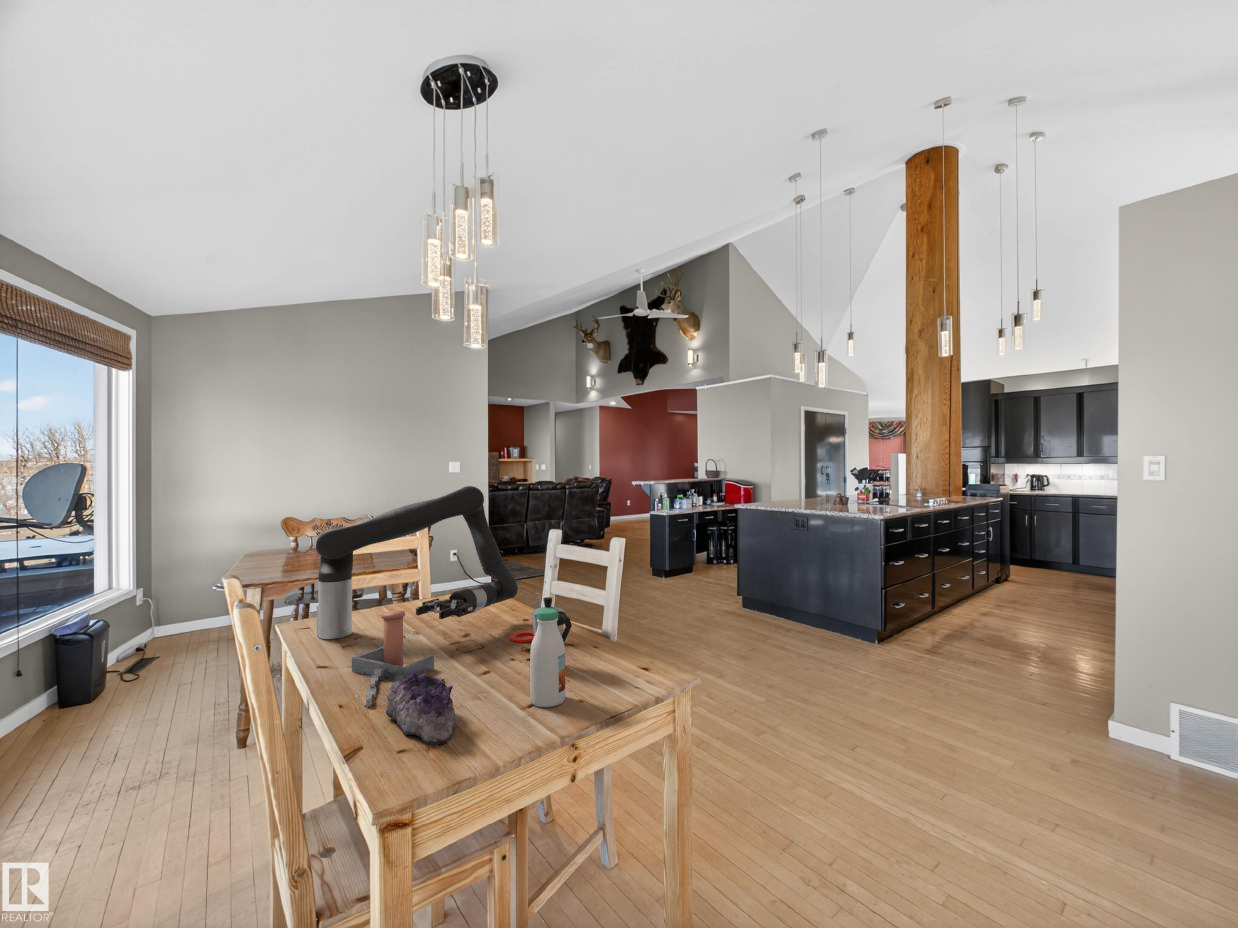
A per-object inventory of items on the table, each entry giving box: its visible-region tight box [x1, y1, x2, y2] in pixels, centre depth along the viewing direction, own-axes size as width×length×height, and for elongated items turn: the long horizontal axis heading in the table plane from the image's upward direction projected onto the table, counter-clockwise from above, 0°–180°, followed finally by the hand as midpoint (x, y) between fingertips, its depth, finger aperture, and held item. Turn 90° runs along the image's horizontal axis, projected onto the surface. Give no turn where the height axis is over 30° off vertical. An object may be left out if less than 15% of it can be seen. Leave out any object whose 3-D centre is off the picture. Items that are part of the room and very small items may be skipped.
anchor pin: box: [380, 609, 406, 666], centre depth 140 cm, size 6×6×15 cm
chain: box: [365, 675, 380, 708], centre depth 127 cm, size 2×17×2 cm, turn 20°
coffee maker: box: [530, 596, 573, 643], centre depth 141 cm, size 15×9×18 cm, turn 47°
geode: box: [385, 672, 457, 745], centre depth 111 cm, size 20×12×10 cm, turn 42°
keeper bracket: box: [351, 645, 435, 682], centre depth 140 cm, size 18×11×4 cm, turn 65°
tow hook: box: [509, 592, 542, 644], centre depth 166 cm, size 9×14×10 cm
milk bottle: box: [529, 609, 566, 708], centre depth 122 cm, size 8×8×20 cm
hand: (428, 613), depth 151 cm, fingers open, 8 cm apart
